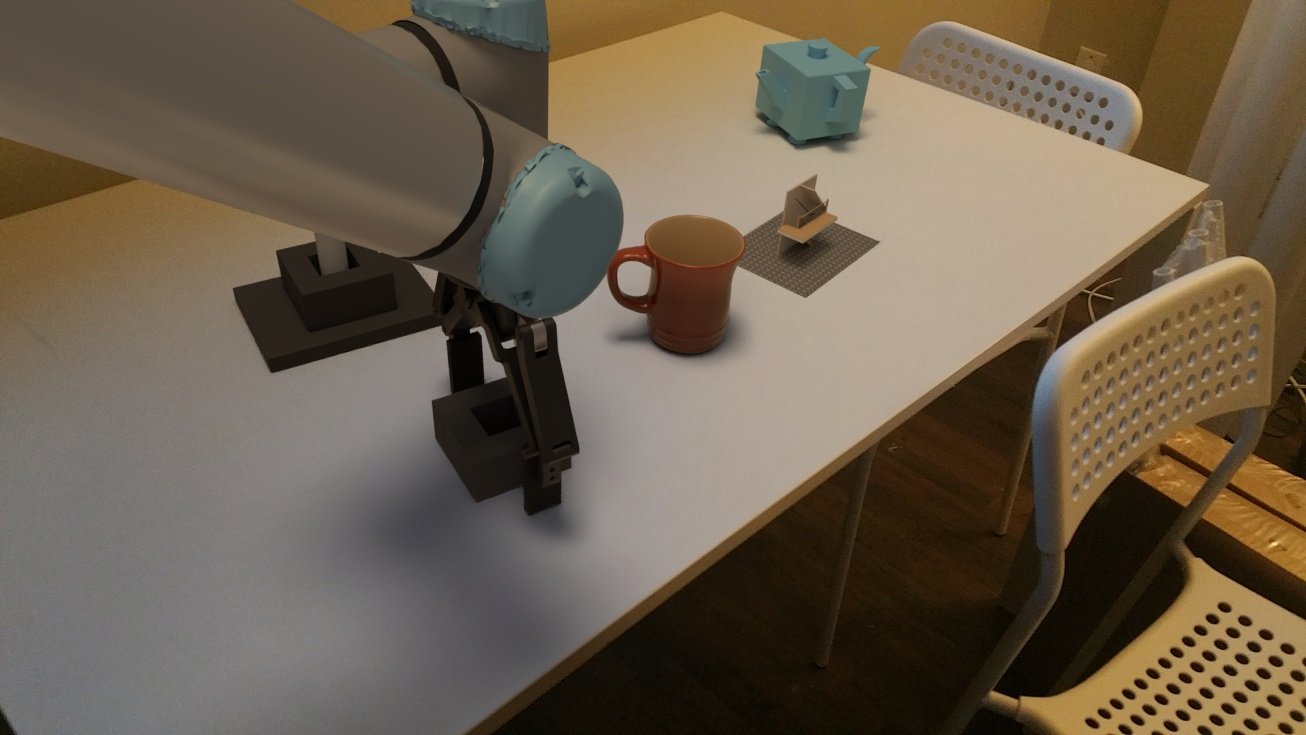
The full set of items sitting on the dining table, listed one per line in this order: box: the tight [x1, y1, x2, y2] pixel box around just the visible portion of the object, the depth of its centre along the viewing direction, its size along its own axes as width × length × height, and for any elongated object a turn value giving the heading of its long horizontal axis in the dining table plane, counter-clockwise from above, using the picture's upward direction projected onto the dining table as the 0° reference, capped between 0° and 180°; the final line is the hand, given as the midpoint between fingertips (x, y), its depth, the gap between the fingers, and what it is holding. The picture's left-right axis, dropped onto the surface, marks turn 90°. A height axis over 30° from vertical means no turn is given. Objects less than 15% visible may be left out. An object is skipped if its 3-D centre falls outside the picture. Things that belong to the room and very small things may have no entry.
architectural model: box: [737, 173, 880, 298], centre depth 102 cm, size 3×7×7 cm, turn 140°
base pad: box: [232, 232, 443, 373], centre depth 87 cm, size 16×12×12 cm
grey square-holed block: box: [431, 376, 572, 503], centre depth 76 cm, size 8×8×4 cm
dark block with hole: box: [275, 240, 397, 333], centre depth 89 cm, size 8×8×4 cm
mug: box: [606, 214, 746, 355], centre depth 88 cm, size 12×9×10 cm
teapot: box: [754, 37, 881, 145], centre depth 125 cm, size 16×18×11 cm
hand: (503, 450), depth 77 cm, fingers open, 13 cm apart
